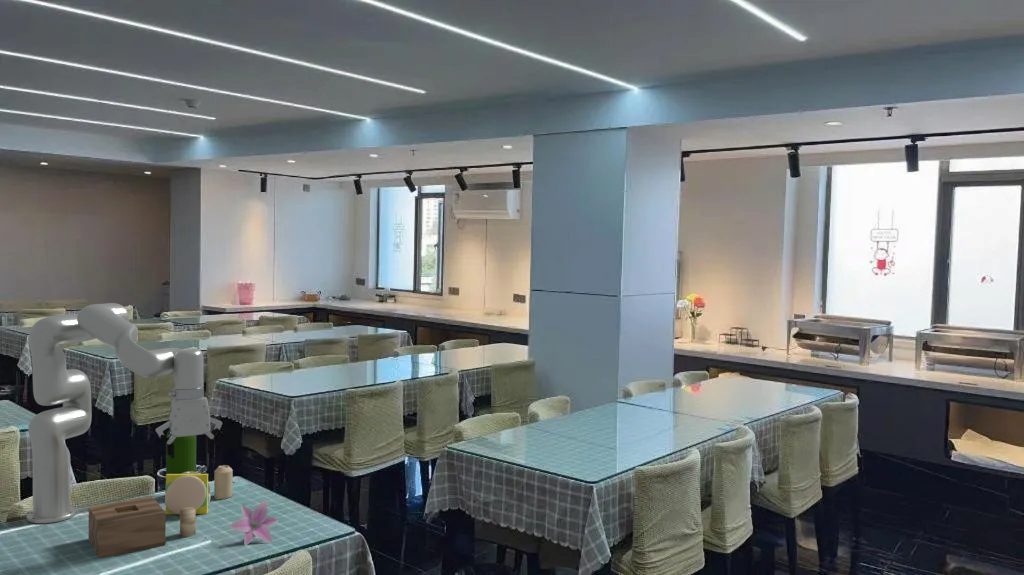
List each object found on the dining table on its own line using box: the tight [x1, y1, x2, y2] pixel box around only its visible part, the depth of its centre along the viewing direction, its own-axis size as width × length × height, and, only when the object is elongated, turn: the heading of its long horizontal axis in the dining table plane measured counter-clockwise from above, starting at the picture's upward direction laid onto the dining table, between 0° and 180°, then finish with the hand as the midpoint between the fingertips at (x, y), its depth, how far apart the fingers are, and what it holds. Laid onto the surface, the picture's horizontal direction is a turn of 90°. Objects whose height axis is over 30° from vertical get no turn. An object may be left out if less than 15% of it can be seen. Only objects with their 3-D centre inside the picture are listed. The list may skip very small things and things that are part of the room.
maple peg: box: [179, 507, 197, 538], centre depth 214 cm, size 4×4×7 cm
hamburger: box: [164, 471, 212, 516], centre depth 232 cm, size 12×8×12 cm
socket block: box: [88, 496, 167, 559], centre depth 207 cm, size 16×16×9 cm
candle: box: [213, 464, 234, 500], centre depth 247 cm, size 6×6×10 cm
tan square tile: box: [117, 509, 135, 514], centre depth 207 cm, size 4×4×1 cm
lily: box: [228, 499, 280, 546], centre depth 212 cm, size 12×12×10 cm
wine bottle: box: [165, 429, 197, 475], centre depth 246 cm, size 9×9×32 cm
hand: (190, 454), depth 213 cm, fingers open, 9 cm apart
